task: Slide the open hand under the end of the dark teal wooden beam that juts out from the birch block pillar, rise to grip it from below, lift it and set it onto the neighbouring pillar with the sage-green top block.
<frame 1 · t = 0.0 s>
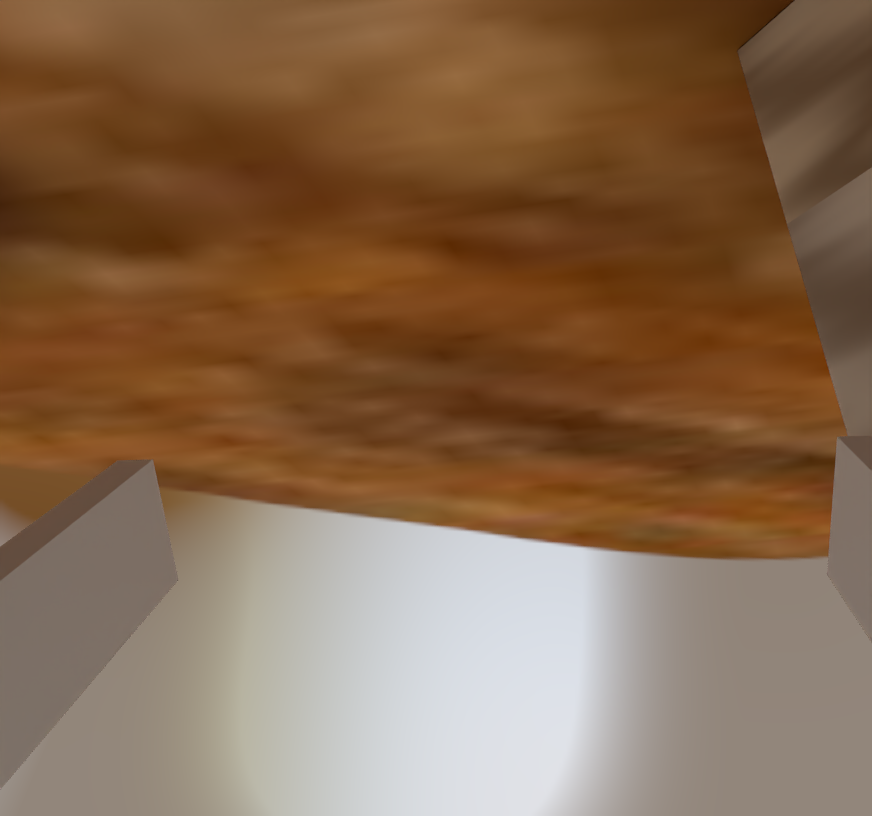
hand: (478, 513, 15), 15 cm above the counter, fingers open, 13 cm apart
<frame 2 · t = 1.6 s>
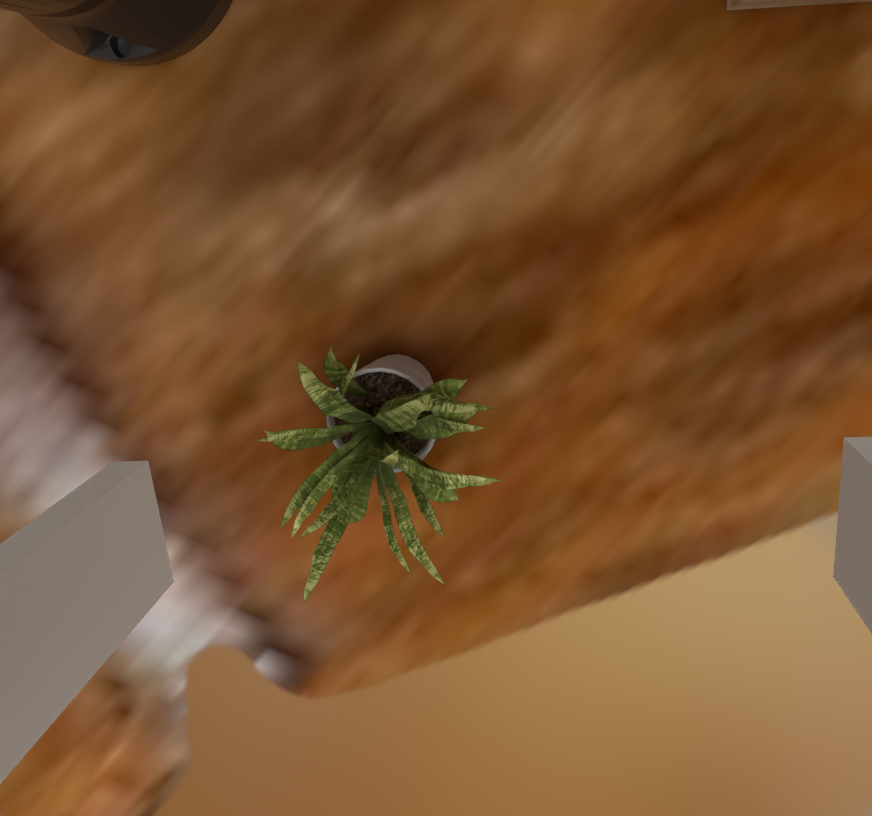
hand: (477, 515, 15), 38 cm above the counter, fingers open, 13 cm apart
house plant: (401, 407, 55), on the counter
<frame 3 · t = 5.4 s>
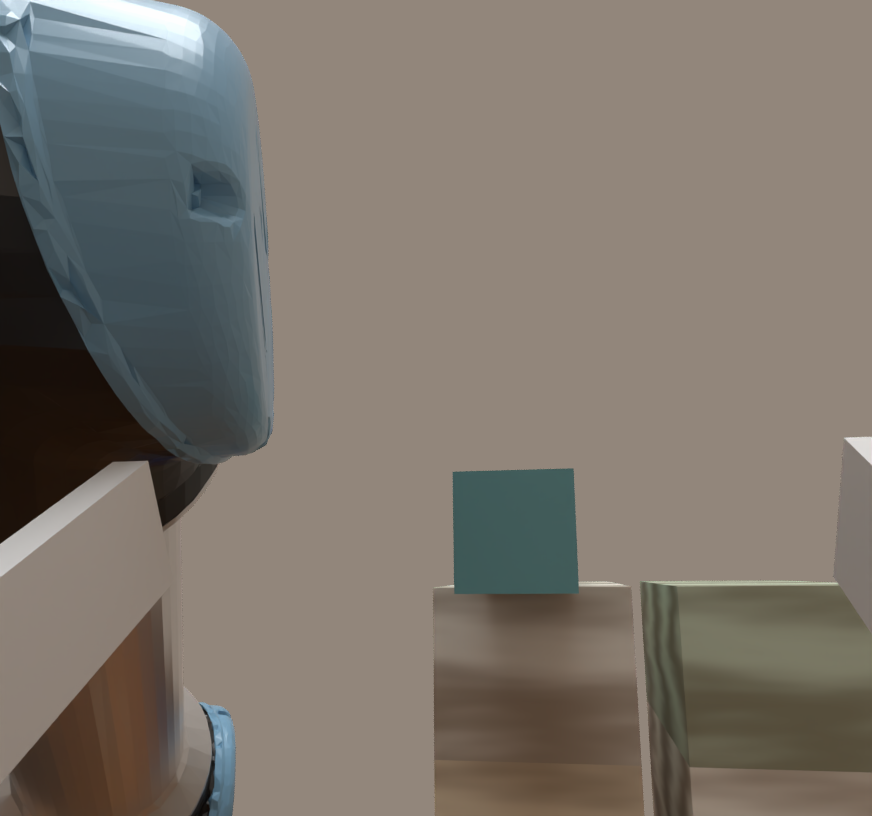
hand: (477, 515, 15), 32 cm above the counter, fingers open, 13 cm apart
beam: (533, 585, 40), point 30 cm above the counter, touching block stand
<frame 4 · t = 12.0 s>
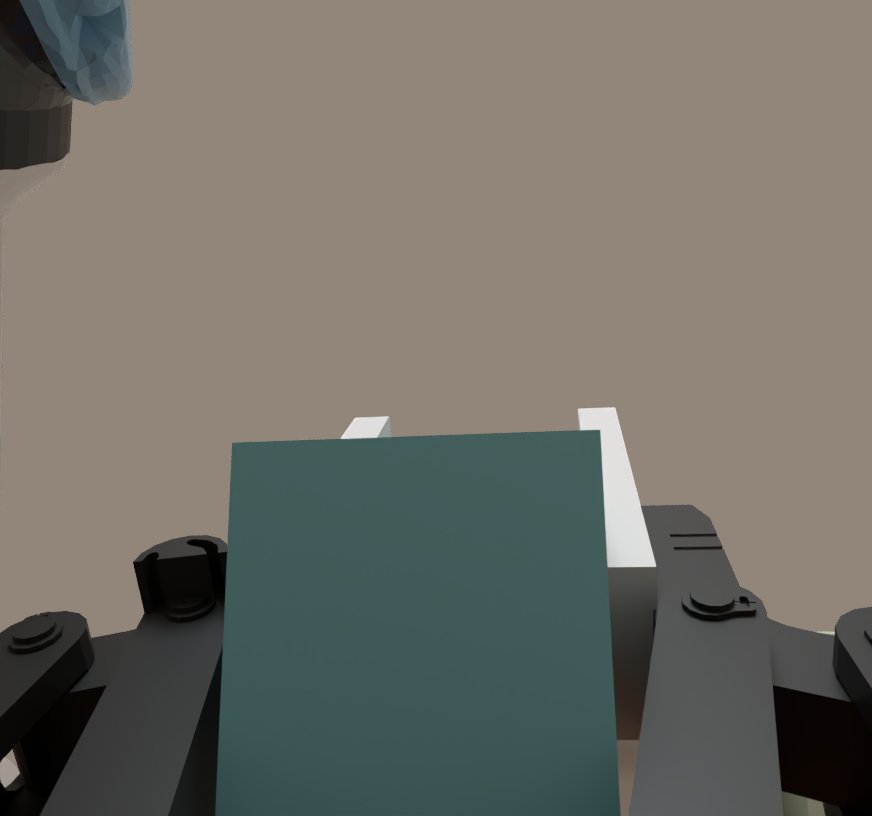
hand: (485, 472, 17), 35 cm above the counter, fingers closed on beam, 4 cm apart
beam: (511, 666, 22), point 30 cm above the counter, touching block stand, gripper
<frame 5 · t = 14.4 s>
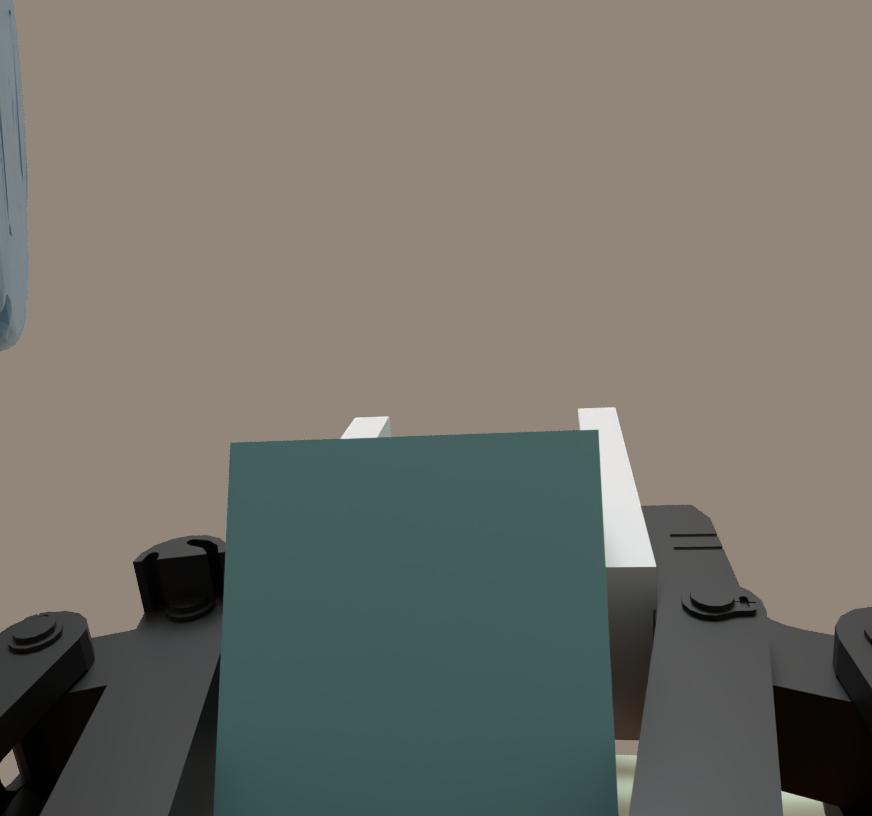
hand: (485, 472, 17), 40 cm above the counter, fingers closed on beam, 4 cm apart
beam: (510, 666, 22), point 35 cm above the counter, touching gripper
when the fingers open (36 cm above the counter, at t = 17.0 s): beam stays where it is, resting on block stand.
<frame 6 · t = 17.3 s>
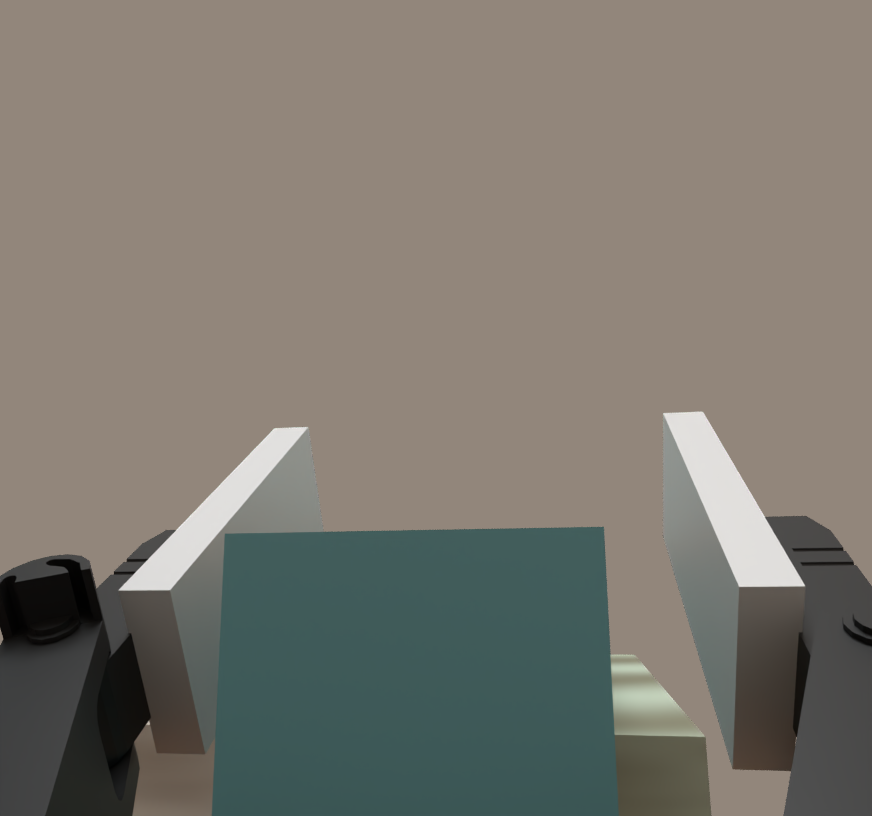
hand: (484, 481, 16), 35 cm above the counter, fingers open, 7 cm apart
beam: (512, 704, 22), point 30 cm above the counter, touching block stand
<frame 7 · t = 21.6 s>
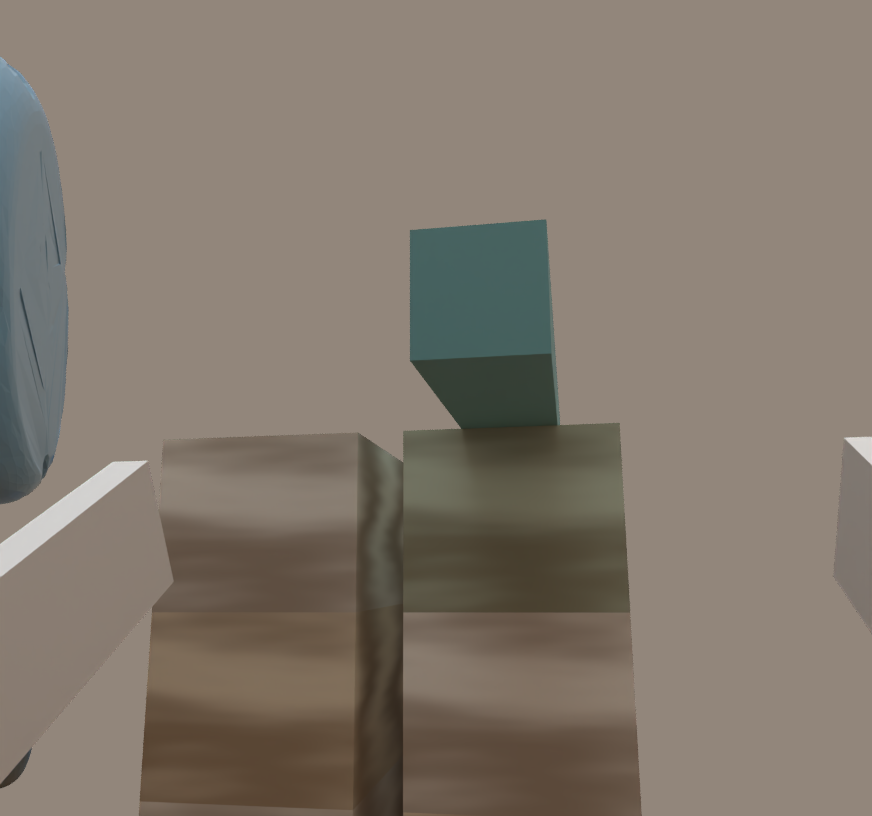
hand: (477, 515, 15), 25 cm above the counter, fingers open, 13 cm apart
beam: (515, 442, 37), point 30 cm above the counter, touching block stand
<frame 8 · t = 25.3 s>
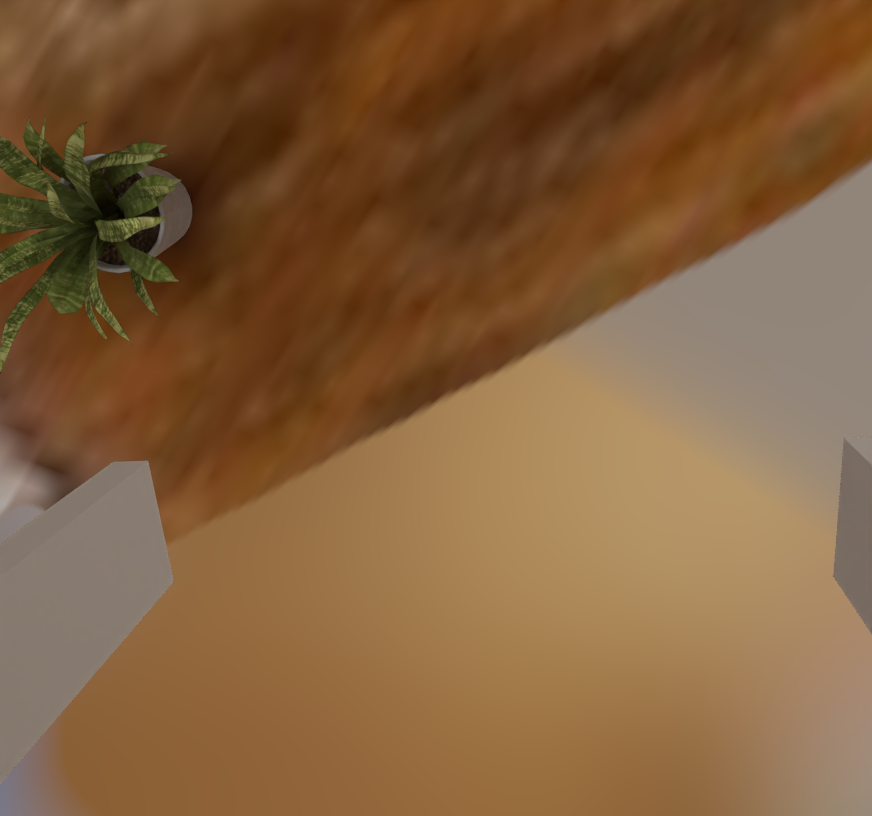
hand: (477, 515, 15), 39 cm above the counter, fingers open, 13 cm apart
house plant: (163, 227, 54), on the counter
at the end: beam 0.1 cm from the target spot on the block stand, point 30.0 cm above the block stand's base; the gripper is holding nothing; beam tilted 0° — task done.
